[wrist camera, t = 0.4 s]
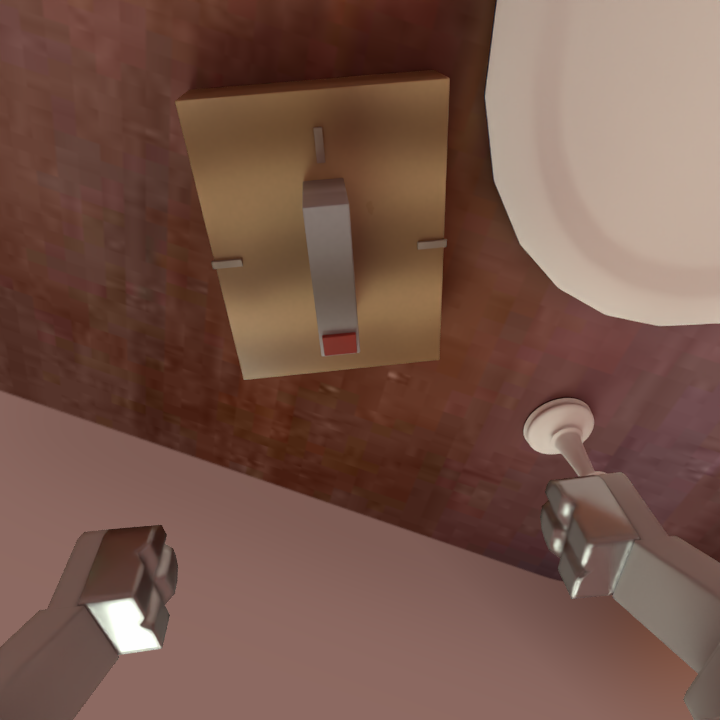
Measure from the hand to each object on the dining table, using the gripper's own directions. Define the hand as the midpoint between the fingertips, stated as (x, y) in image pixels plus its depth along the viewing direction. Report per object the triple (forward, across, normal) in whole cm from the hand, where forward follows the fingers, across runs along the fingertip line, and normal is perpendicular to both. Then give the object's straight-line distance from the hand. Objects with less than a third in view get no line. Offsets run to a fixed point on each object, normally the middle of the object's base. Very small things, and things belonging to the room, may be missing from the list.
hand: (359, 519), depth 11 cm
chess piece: (+19, -15, +17) cm, 30 cm away
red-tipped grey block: (+16, 0, +1) cm, 16 cm away
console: (+19, 0, +1) cm, 19 cm away
